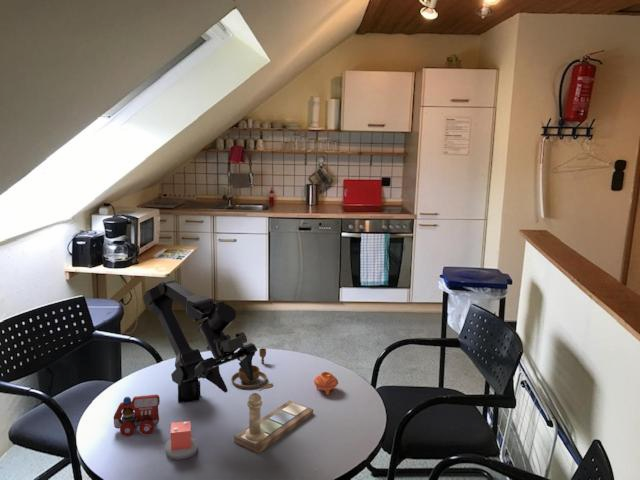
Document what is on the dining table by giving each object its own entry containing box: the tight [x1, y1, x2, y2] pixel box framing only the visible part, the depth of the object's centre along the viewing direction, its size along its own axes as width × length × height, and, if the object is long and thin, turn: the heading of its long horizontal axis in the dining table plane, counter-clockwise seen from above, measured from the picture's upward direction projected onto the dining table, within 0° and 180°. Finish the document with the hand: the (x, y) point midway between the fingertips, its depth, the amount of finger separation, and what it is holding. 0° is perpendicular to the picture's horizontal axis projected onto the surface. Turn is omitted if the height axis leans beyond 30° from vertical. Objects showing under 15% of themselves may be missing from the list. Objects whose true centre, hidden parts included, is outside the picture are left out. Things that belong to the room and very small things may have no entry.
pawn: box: [246, 392, 264, 441], centre depth 148 cm, size 5×5×13 cm
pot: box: [313, 371, 339, 396], centre depth 178 cm, size 8×8×7 cm
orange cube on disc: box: [165, 420, 198, 461], centre depth 144 cm, size 8×8×8 cm
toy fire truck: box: [113, 394, 161, 437], centre depth 153 cm, size 7×12×10 cm, turn 101°
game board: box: [233, 400, 314, 454], centre depth 157 cm, size 25×9×2 cm, turn 146°
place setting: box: [230, 347, 274, 392], centre depth 187 cm, size 18×20×6 cm
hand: (239, 386), depth 152 cm, fingers open, 9 cm apart
